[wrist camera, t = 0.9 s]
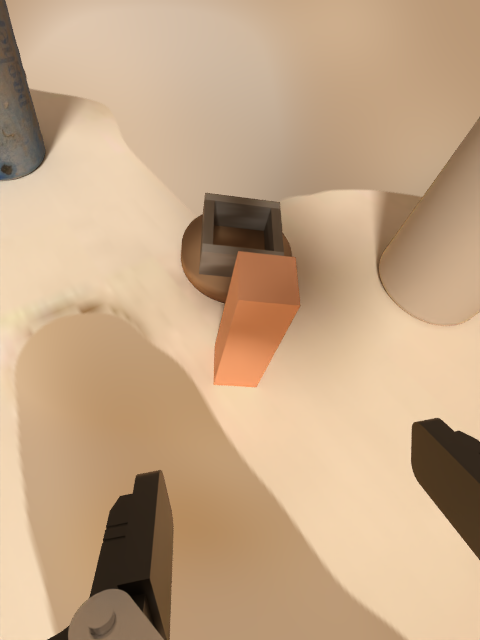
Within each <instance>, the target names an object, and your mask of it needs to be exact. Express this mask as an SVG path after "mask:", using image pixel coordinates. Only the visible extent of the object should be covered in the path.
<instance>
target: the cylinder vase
mask: <svg viewBox="0 0 480 640" xmlns="http://www.w3.org/2000/svg"><path fill="white" fill-rule="evenodd" d="M379 273H380V278H381V281H382V284H383V286H384V288H385V290H386V292H387V293H388V295H389V296H390V297H391V298H392V300H393V301H394V302H395V303H396V304H397V305H398V306H399V307H400V308H402V309H403V310H404V311H405V312H407V313H408V314H410V315H412V316H413V317H415V318H417V319H419V320H421V321H424V322H427V323H430V324H434V325H441V326H452V325H458V324H461V323H464V322H466V321H468V320H470V319H471V318H472V317H474V316H475V315H476V314H477V313H479V312H480V117H479V119H478V120H477V122H476V123H475V125H474V126H473V127H472V129H471V130H470V132H469V133H468V134H467V136H466V137H465V139H464V140H463V141H462V143H461V144H460V145H459V147H458V148H457V150H456V151H455V152H454V154H453V155H452V157H451V158H450V160H449V161H448V162H447V164H446V165H445V166H444V168H443V169H442V171H441V172H440V173H439V175H438V176H437V178H436V179H435V180H434V182H433V183H432V185H431V186H430V188H429V189H428V190H427V192H426V193H425V195H424V196H423V197H422V199H421V200H420V201H419V203H418V204H417V206H416V207H415V208H414V210H413V211H412V213H411V214H410V215H409V217H408V218H407V220H406V221H405V222H404V224H403V225H402V227H401V228H400V229H399V231H398V232H397V234H396V235H395V236H394V238H393V239H392V241H391V242H390V243H389V245H388V246H387V248H386V249H385V250H384V252H383V254H382V256H381V258H380V263H379Z"/></svg>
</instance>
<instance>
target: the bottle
mask: <svg viewBox="0 0 480 640" xmlns="http://www.w3.org/2000/svg"><path fill="white" fill-rule="evenodd" d="M44 156H45V147H44V142H43V138H42V135H41V132H40V128H39V123H38V120H37V117H36V113H35V109H34V106H33V102H32V99H31V95H30V92H29V87H28V84H27V81H26V74H25V71H24V69H23V66H22V63H21V58H20V53H19V49H18V47H17V44H16V40H15V36H14V33H13V29H12V25H11V21H10V17H9V13H8V9H7V6H6V2H5V0H0V181H6V180H12V179H16V178H20V177H23V176H25V175H28V174H29V173H31V172H32V171H34V170H35V169H36V168H37V167H38V166H39V165H40V164H41V163H42V161H43V159H44Z"/></svg>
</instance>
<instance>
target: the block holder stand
mask: <svg viewBox="0 0 480 640" xmlns="http://www.w3.org/2000/svg"><path fill="white" fill-rule="evenodd" d="M238 251H242V252H251V253H260V254H270V255H279V256H288V257H292V254H291V248H290V246H289V243H288V241H287V239H286V237H285V236H284V234H283V233H282V223H281V211H280V202H273V201H266V200H258V199H249V198H242V197H234V196H226V195H219V194H210V193H205V200H204V209H203V214H202V215H200V216H199V217H197V218H196V219H195V220H193V221H192V222H191V223H190V225H189V226H188V227H187V229H186V230H185V233H184V235H183V239H182V249H181V263H182V267H183V270H184V273H185V275H186V277H187V278H188V280H189V281H190V282H191V283H192V285H193V286H194V287H195V288H196V289H198V290H199V291H200V292H201V293H203V294H204V295H206V296H208V297H210V298H212V299H214V300H217V301H219V302H223V303H226V299H227V295H228V291H229V286H230V282H231V278H232V274H233V270H234V266H235V262H236V258H237V254H238Z"/></svg>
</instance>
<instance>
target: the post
mask: <svg viewBox="0 0 480 640" xmlns="http://www.w3.org/2000/svg"><path fill="white" fill-rule="evenodd" d="M299 307H300V298H299V288H298V278H297V268H296V258H295V257H288V256H279V255H270V254H260V253H251V252H242V251H238V254H237V258H236V262H235V266H234V270H233V274H232V278H231V282H230V286H229V291H228V295H227V299H226V303H225V307H224V311H223V315H222V319H221V323H220V327H219V331H218V335H217V339H216V343H215V357H214V385H228V386H245V387H257V385H258V383H259V381H260V379H261V377H262V376H263V374H264V372H265V370H266V368H267V366H268V364H269V363H270V361H271V359H272V357H273V355H274V353H275V352H276V350H277V348H278V346H279V344H280V342H281V340H282V339H283V337H284V335H285V333H286V331H287V329H288V327H289V326H290V324H291V322H292V320H293V318H294V316H295V315H296V313H297V311H298V309H299Z"/></svg>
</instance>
